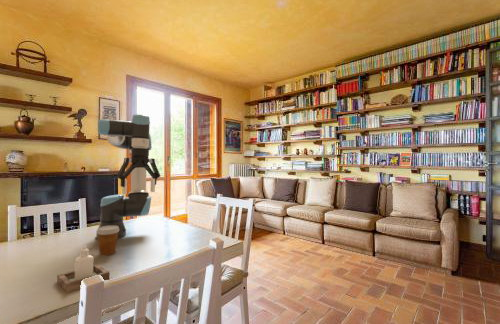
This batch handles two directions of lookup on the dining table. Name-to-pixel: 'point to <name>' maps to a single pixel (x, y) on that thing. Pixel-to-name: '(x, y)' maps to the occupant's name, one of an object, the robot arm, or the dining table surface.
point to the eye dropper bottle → (84, 265)
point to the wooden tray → (69, 281)
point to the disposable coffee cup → (107, 239)
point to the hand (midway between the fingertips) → (139, 193)
